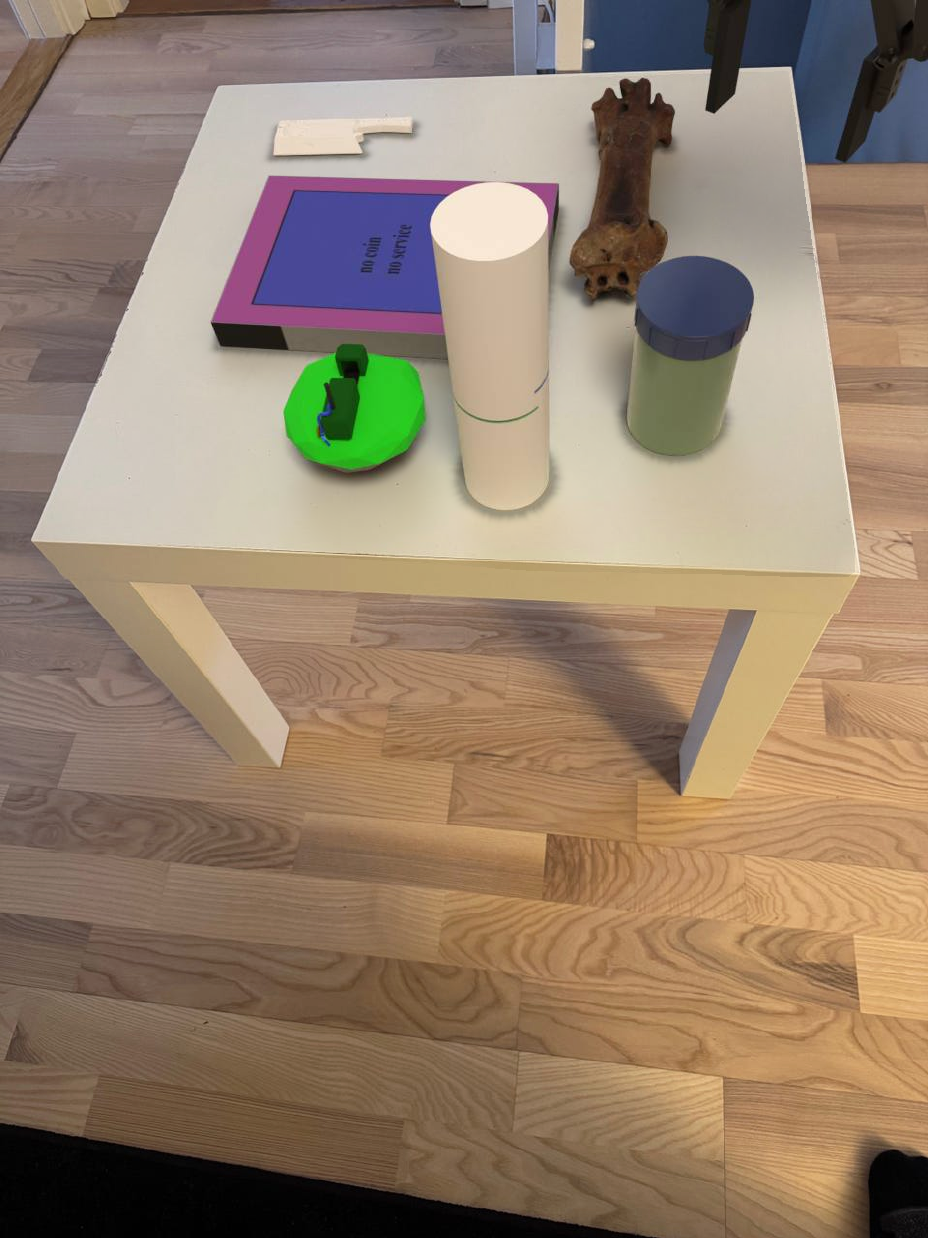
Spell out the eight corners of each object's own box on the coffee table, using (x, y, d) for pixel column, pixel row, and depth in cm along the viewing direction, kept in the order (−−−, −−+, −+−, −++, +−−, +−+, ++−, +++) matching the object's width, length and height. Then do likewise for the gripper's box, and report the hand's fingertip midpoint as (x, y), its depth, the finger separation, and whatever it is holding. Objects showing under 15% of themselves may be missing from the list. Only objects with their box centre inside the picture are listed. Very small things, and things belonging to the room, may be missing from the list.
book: (532, 339, 81) (210, 322, 85) (533, 363, 83) (220, 346, 88) (558, 183, 90) (268, 175, 95) (558, 209, 93) (276, 200, 97)
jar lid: (769, 307, 69) (776, 283, 67) (709, 377, 66) (714, 353, 64) (673, 265, 72) (677, 240, 70) (612, 330, 69) (614, 306, 67)
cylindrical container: (565, 462, 78) (569, 202, 56) (521, 523, 75) (508, 275, 53) (493, 430, 80) (470, 169, 58) (448, 489, 77) (407, 238, 55)
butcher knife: (407, 153, 99) (406, 143, 98) (273, 156, 101) (271, 147, 100) (413, 123, 102) (411, 113, 101) (282, 126, 104) (279, 117, 103)
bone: (680, 42, 92) (666, 230, 77) (679, 124, 99) (666, 312, 84) (591, 52, 94) (560, 237, 79) (596, 131, 101) (568, 315, 86)
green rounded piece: (422, 501, 77) (404, 412, 67) (287, 496, 78) (250, 408, 69) (440, 392, 83) (424, 295, 73) (313, 389, 84) (282, 294, 74)
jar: (739, 409, 79) (771, 289, 67) (688, 470, 76) (712, 356, 65) (660, 370, 82) (677, 248, 70) (608, 427, 79) (617, 311, 68)
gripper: (1159, -321, 41) (963, 149, 60) (726, -384, 49) (677, 49, 68) (1090, -254, 38) (908, 213, 58) (646, -332, 46) (618, 102, 66)
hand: (783, 124), depth 63 cm, fingers open, 9 cm apart
